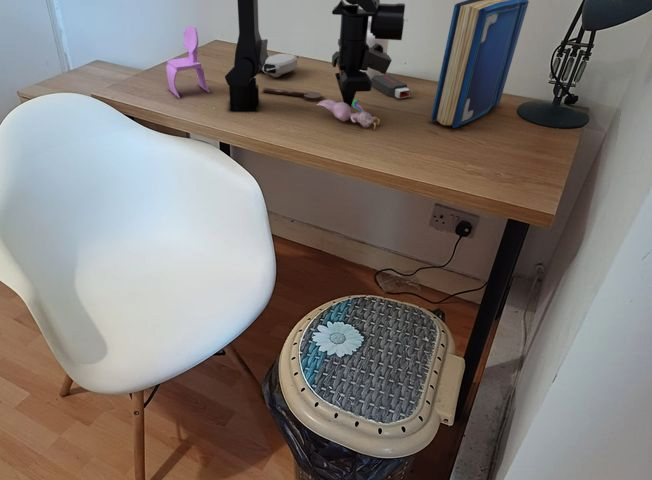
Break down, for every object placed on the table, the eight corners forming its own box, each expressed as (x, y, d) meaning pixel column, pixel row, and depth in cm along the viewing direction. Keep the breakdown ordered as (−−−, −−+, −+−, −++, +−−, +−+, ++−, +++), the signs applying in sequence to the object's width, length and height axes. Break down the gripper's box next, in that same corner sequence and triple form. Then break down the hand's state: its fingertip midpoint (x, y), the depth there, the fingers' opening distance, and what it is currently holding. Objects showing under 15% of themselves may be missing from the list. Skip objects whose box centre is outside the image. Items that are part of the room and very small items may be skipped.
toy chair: (166, 89, 135) (158, 26, 126) (198, 83, 139) (193, 22, 129) (178, 99, 130) (170, 35, 120) (211, 93, 133) (206, 30, 124)
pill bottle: (382, 84, 141) (390, 23, 131) (352, 81, 142) (358, 21, 132) (384, 74, 147) (392, 15, 137) (355, 72, 148) (361, 13, 138)
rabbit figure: (379, 128, 121) (321, 105, 125) (387, 104, 117) (327, 81, 121) (370, 138, 117) (310, 114, 121) (377, 113, 113) (315, 89, 117)
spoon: (260, 94, 133) (260, 90, 132) (266, 89, 136) (266, 84, 136) (318, 102, 130) (319, 97, 129) (323, 96, 133) (323, 91, 132)
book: (477, 99, 133) (504, -12, 117) (503, 107, 129) (535, -7, 113) (428, 122, 121) (451, 2, 105) (455, 132, 117) (484, 8, 101)
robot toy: (235, 76, 146) (281, 82, 139) (234, 59, 143) (280, 64, 137) (260, 64, 154) (304, 70, 148) (259, 48, 152) (304, 53, 145)
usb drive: (386, 82, 142) (388, 71, 140) (412, 97, 133) (414, 86, 131) (370, 84, 140) (371, 74, 138) (395, 100, 131) (396, 89, 130)
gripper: (400, 50, 105) (390, 124, 115) (382, 24, 120) (374, 92, 130) (345, 50, 105) (339, 125, 115) (333, 25, 119) (329, 93, 129)
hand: (347, 108), depth 122 cm, fingers closed
